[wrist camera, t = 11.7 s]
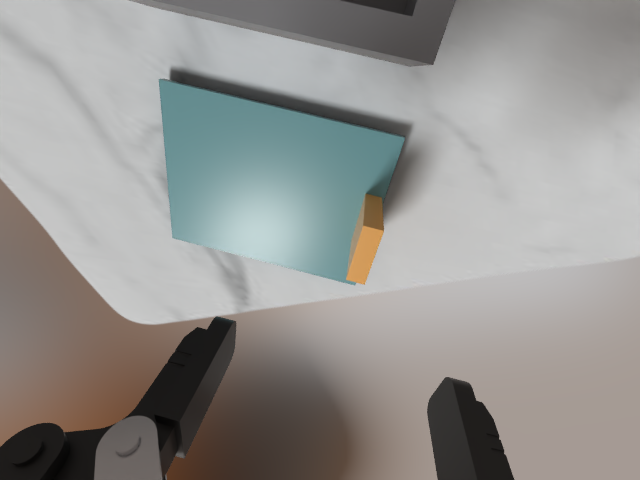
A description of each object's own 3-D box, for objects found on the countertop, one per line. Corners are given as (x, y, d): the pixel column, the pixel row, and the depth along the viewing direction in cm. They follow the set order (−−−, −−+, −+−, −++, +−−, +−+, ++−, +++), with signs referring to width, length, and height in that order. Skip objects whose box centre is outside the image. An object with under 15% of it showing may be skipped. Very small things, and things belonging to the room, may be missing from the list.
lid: (181, 230, 27) (131, 271, 21) (171, 78, 20) (96, 81, 15) (356, 275, 26) (351, 329, 21) (403, 133, 20) (414, 158, 14)
